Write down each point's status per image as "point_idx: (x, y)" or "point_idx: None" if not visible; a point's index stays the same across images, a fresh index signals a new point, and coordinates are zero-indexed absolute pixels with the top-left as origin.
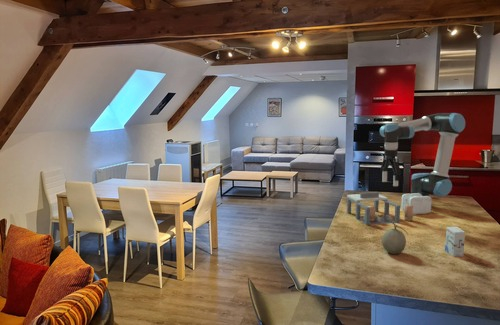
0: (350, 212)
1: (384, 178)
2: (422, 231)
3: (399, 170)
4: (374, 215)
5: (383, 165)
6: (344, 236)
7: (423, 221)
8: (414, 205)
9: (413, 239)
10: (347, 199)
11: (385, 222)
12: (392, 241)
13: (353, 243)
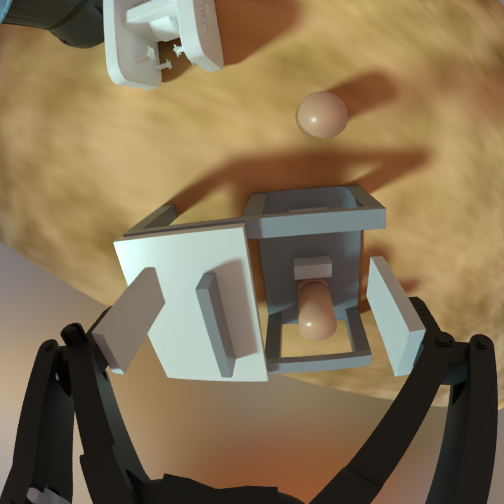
0: None
1: (149, 309)
2: (457, 153)
3: (491, 387)
4: (329, 295)
5: (66, 413)
6: None
7: (339, 62)
8: (213, 41)
9: (497, 230)
10: None
11: (345, 242)
12: None
13: None
